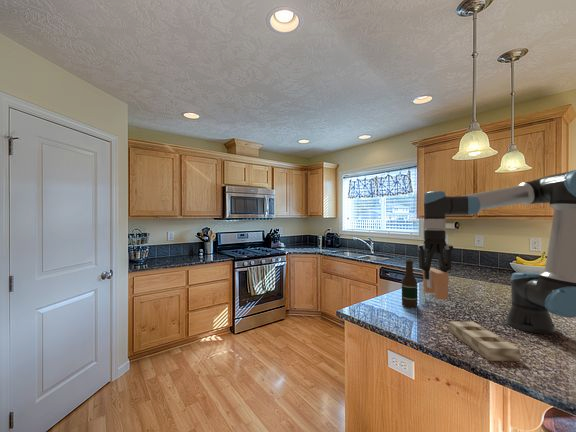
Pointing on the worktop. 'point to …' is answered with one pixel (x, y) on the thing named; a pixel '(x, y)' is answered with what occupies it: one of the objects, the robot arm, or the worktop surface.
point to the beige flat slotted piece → (485, 341)
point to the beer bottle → (409, 287)
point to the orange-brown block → (438, 284)
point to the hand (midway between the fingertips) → (435, 287)
